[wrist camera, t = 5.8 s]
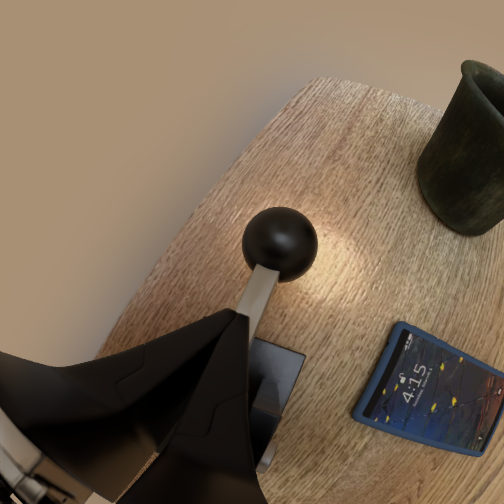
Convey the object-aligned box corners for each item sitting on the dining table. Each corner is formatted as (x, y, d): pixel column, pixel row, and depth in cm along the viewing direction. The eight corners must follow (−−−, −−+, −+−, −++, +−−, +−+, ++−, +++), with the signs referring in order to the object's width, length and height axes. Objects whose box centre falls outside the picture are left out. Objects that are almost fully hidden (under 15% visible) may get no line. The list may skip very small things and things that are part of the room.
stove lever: (257, 228, 16) (259, 182, 13) (317, 248, 15) (332, 205, 12) (155, 433, 10) (122, 438, 7) (228, 468, 9) (221, 489, 6)
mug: (388, 173, 22) (439, 64, 10) (453, 127, 24) (491, 54, 13) (466, 267, 18) (562, 198, 7) (512, 194, 20) (567, 134, 9)
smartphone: (482, 458, 11) (350, 419, 14) (477, 456, 12) (347, 417, 15) (516, 378, 13) (399, 317, 17) (510, 378, 14) (395, 318, 17)
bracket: (207, 317, 19) (141, 277, 9) (304, 355, 17) (341, 357, 8) (161, 427, 16) (72, 472, 6) (253, 467, 14) (233, 556, 5)
